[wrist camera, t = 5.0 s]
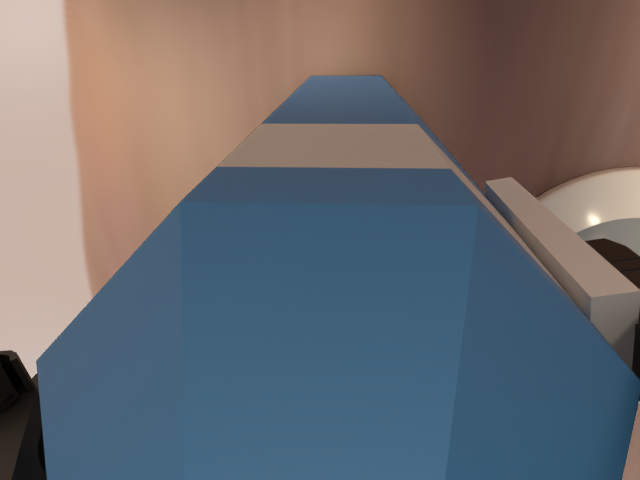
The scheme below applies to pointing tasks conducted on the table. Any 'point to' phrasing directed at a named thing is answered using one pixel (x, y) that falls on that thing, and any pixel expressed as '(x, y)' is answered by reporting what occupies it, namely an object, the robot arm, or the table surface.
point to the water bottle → (335, 324)
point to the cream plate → (600, 205)
